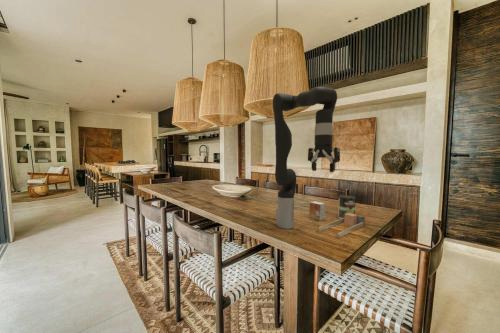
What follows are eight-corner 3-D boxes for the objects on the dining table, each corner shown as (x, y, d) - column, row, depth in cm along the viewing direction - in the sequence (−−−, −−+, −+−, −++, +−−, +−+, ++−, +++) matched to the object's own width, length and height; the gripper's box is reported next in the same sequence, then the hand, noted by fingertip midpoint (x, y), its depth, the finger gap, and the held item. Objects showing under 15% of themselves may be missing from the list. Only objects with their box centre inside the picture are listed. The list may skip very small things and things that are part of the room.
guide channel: (317, 231, 114) (318, 221, 114) (344, 220, 133) (344, 212, 133) (339, 237, 105) (339, 228, 105) (364, 225, 124) (364, 216, 124)
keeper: (344, 224, 126) (344, 214, 126) (348, 222, 129) (348, 212, 129) (352, 226, 122) (353, 216, 122) (356, 224, 125) (357, 214, 125)
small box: (309, 218, 138) (309, 202, 137) (313, 216, 141) (314, 200, 141) (320, 221, 132) (320, 204, 131) (324, 219, 135) (325, 203, 135)
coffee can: (358, 220, 134) (359, 198, 133) (342, 220, 133) (343, 198, 133) (350, 215, 144) (350, 194, 143) (335, 215, 144) (335, 194, 143)
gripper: (304, 135, 95) (304, 170, 96) (334, 132, 84) (333, 173, 85) (314, 135, 100) (313, 170, 101) (343, 133, 89) (342, 172, 90)
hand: (322, 171), depth 93 cm, fingers open, 8 cm apart
